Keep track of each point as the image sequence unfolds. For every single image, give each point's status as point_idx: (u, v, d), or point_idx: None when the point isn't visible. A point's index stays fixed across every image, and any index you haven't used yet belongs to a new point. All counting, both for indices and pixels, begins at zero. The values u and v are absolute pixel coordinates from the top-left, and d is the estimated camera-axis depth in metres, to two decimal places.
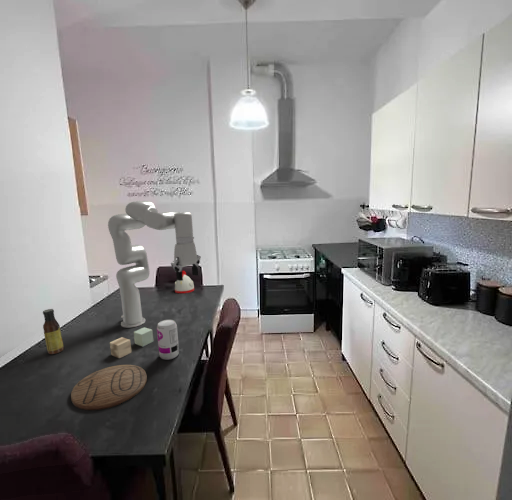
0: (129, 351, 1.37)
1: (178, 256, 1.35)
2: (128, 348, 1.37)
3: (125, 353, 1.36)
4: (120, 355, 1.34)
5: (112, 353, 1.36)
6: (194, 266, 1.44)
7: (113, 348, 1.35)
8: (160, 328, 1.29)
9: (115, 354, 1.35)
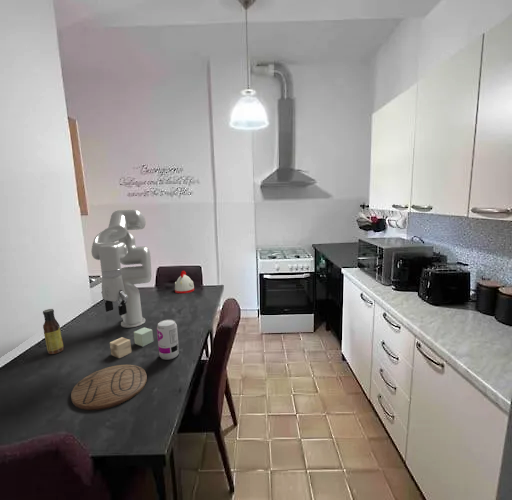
0: (129, 351, 1.37)
1: (121, 289, 1.30)
2: (128, 348, 1.37)
3: (125, 353, 1.36)
4: (120, 355, 1.34)
5: (112, 353, 1.36)
6: (109, 301, 1.36)
7: (113, 348, 1.35)
8: (160, 328, 1.29)
9: (115, 354, 1.35)
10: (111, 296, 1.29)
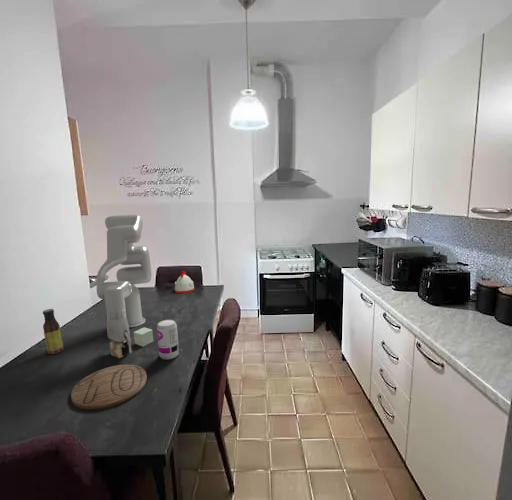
0: (129, 351, 1.37)
1: (126, 329, 1.33)
2: None
3: None
4: (120, 355, 1.34)
5: (112, 353, 1.36)
6: None
7: (113, 348, 1.35)
8: (160, 328, 1.29)
9: (115, 354, 1.35)
10: (116, 336, 1.32)
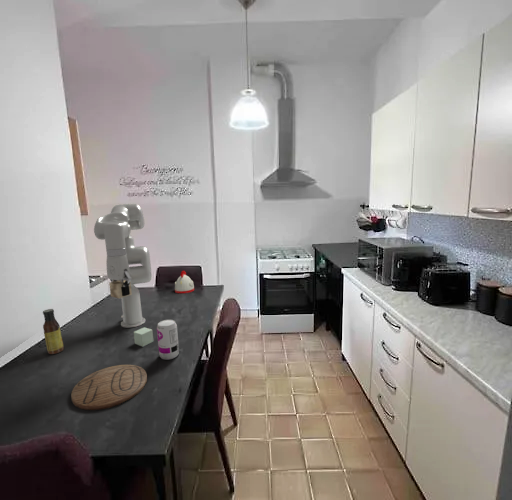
0: None
1: (126, 268, 1.28)
2: None
3: None
4: (120, 295, 1.28)
5: (112, 294, 1.31)
6: None
7: (113, 288, 1.29)
8: (160, 328, 1.29)
9: (115, 294, 1.29)
10: (116, 275, 1.27)
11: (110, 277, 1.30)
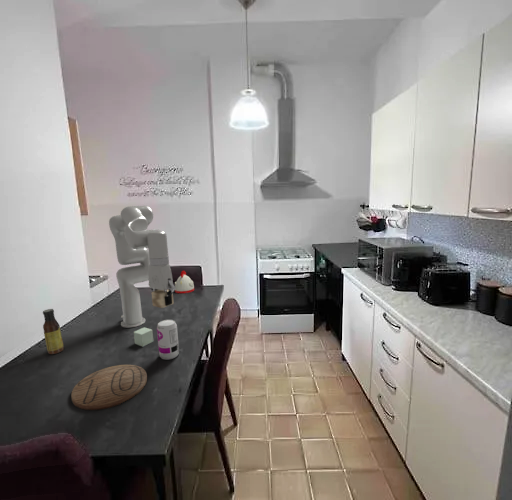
0: None
1: (169, 277, 1.26)
2: None
3: None
4: (163, 305, 1.26)
5: (154, 303, 1.28)
6: None
7: (156, 298, 1.27)
8: (160, 328, 1.29)
9: (157, 304, 1.27)
10: (160, 284, 1.25)
11: (152, 286, 1.27)
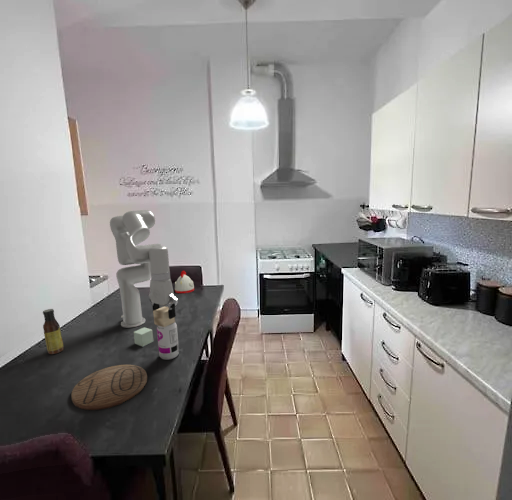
0: (173, 320, 1.31)
1: (171, 292, 1.27)
2: None
3: (169, 322, 1.30)
4: (165, 324, 1.28)
5: (155, 322, 1.30)
6: (156, 304, 1.33)
7: (157, 317, 1.28)
8: (160, 328, 1.29)
9: (159, 323, 1.29)
10: (161, 299, 1.26)
11: (154, 301, 1.28)
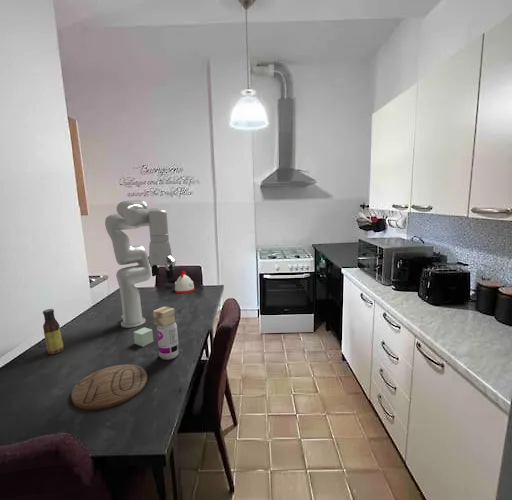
0: (173, 320, 1.31)
1: (169, 254, 1.32)
2: (172, 317, 1.31)
3: (169, 322, 1.30)
4: (165, 324, 1.28)
5: (155, 322, 1.30)
6: (155, 266, 1.38)
7: (157, 317, 1.28)
8: (160, 328, 1.29)
9: (159, 323, 1.29)
10: (159, 260, 1.31)
11: (153, 262, 1.34)
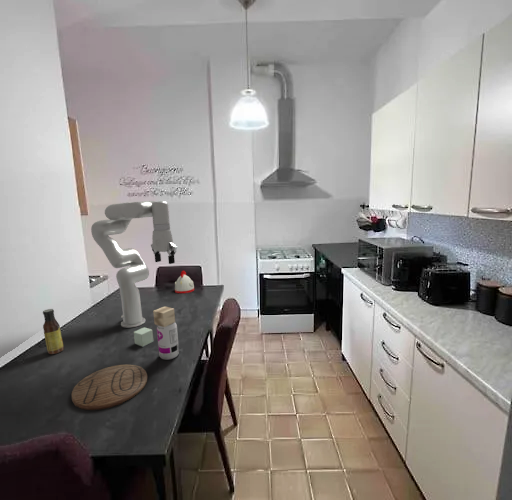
0: (173, 320, 1.31)
1: (170, 241, 1.47)
2: (172, 317, 1.31)
3: (169, 322, 1.30)
4: (165, 324, 1.28)
5: (156, 322, 1.30)
6: (158, 253, 1.53)
7: (157, 317, 1.28)
8: (160, 328, 1.29)
9: (159, 323, 1.29)
10: (162, 247, 1.46)
11: (156, 249, 1.49)
